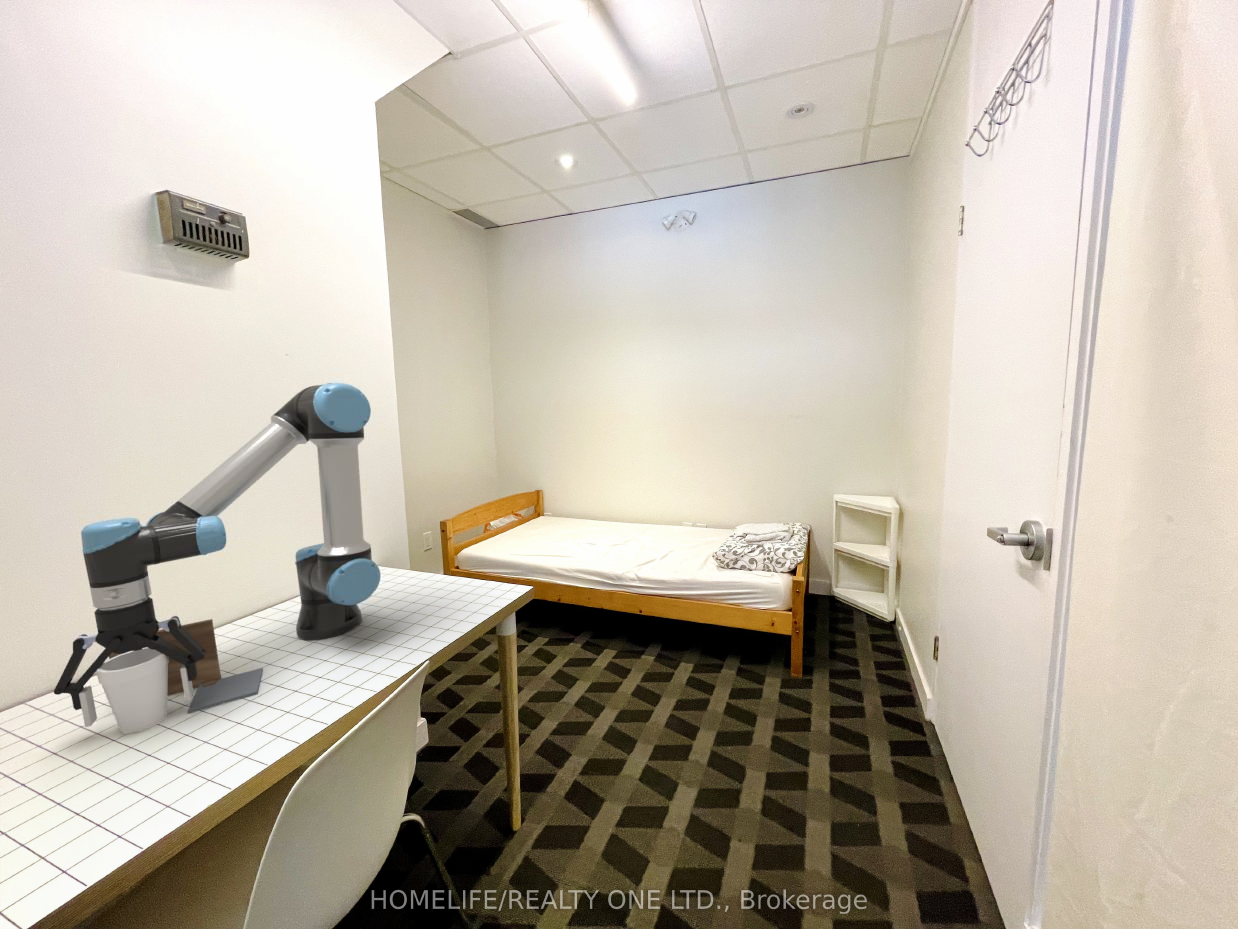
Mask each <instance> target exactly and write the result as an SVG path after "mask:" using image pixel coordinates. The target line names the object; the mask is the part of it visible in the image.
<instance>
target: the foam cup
mask: <svg viewBox="0 0 1238 929" xmlns="http://www.w3.org/2000/svg"><path fill="white" fill-rule="evenodd" d="M168 663H169V657H168V656H166V655H164V654H162V653H160V652H158V651H156V650H152V649H150V648H148V647H146V648H142V650H137V651H130V652H127V653H124V654H120V655H118V656H116V657H113V658H111V659H109V658H108V659H106V660H105V661H104V663H103V664H102V665H101V666H100V667H99V668H98V669H97V671H96V674H97V679H98V680H97V681H98V683H99V684H101V687H102V689H103V692H104V694H105V697H106V699H107V701H108V704H109V706H110V709H111V711H112V714H113V716H114V718H115V721H116V724H117V725H118V728H119V730H120V733H122V734H125V735H126V734H127V735H128V734H135V733H138V732H142V731H145V730H149V729H151V728H152V727H155V726H156V725H158V724H160V723H162V721H163V722H164V720H165V719H167V717H168V714H167V713H168V696H167V690H168Z"/></svg>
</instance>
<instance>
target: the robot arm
mask: <svg viewBox="0 0 1238 929" xmlns="http://www.w3.org/2000/svg"><path fill="white" fill-rule="evenodd" d="M371 413H372V412H371V404H370V401H369V400H368V398H367V396H366V395H365V394H364V392H362V391H361V390H360V389H359V388H358V387H355V386H353V385H352V384H348V383H344V382H343V383H342V382H329V383H325V384H320V385H319V384H317V385H311V386H308V387H305V388H303V389H301V390H300V391H299V392H297V393H296V394H295V395H294V396H293V397H292V398H291V399H290V400H288V401H287V402H286V403H285V404H284V405H283V406H281V408H279V409H278V410H277V411H276V412H275V413H274V414H272V415H271V416H270V423H268V424H267V426H266V427H264V428H263V429H262V430H261V431H259V432H258V433H257V434H256V435H255V436H254V437H252V438H251V439H250V440H249V441H247V442H246V443H245V444H244V445H243V446H241V447H240V448H239V449H238V450H237V451H235V452H234V453H233V454H232V455H230V457H228V458H227V459H226V460H224V462H222V463H221V464H220V465H219V466H217V467H216V468H215V469H214V470H213V471H212V472H210V473H209V474H208V475H207V476H205V478H203V479H202V480H200V482H198V483H197V484H196V485H195V486H193V487H192V488H191V489H190V490H189V491H188V492H186V493H185V494H184V495H182V496H181V497H180V498H179V499H178V500H177V501H176V502H174V503H173V504H172V505H171V506H169V507H168V508H167V509H166V510H165V511H164V510H163V511H162V512H159V513H155V515H153V516H151V517H150V518H149V519H148V520H147V522H146V524H145V525H144V526H142V524H141V522H140V520H139V519H138V518H135V517H123V518H122V517H121V518H113V519H108V520H101V521H96V522H92V523H89V524H87V525H85V526H84V527H83V528H82V530H81V532H80V534H81V543H82V555H83V558H84V564H85V568H86V575H87V580H88V583H89V590H90V595H91V600H92V601H91V602H92V607H94V608H95V611H94V618H95V624H96V628H97V634H93V635H87V633H86V634H85V633H84V634H80V635H79V636H78V637H77V638H76V639H74V641H73V642H72V653H71V655H70V658H69V659H68V661H67V663H66V666H65V668H64V670H63V672H62V673H61V675H60V678H59V680H58V682H57V683H56V686H55V688H54V690H53V694H54V695H61V694H69V695H70V696H71V701H72V707H73V710H75V711H79V710H81V712H82V718H83V723H84V727H85V728H89V727H92V726H93V724H94V723H95V721H96V720H97V718H98V715H97V710H96V705H95V700H94V694H93V689H92V685H86V684H87V683H88V681H89V680H90V679H91V678H92V677H93V676H94V675H95V673H97V669H98V668H99V667H100V666H101V665H102V664H103V663H104V662H105V661H107V660H108V659H109V656H110V654H111V653H112V652H113V653H116V654H124V653H127V652H129V651H137V650H142V648H144V647H148V648H150V649H152V650H156V651H158V652H160V653H162V654H164V655H166V656H168V657H170V658H172V659H174V660H175V661H177V662H179V663H181V664H183V665H182V667H181V669H180V671H181V677H182V683H183V689H184V691H183V696H184V701H188V700H191V699H192V696H193V694H194V689H193V687H192V680H195V679H196V676H197V668H196V662H197V661H199V660H202V659H204V657H205V655H206V653H207V651H206V650H205V649H204V648H203V647H202V646H201V645H200V644H199V643H198V642H197V641H196V640H195V639H194V638H193V637H192V636H191V635H190V634H189V633H188V632H187V631H186V630H185V629H184V628H183V627H182V626H181V625H182V623H181V621H180V617H179V616H177V615H174V616H172V617H171V618H169V619H166V620H165V619H164V620H162V621H159V620H158V619H157V618H156V612H155V607H154V606H155V605H154V600H153V598H152V597H151V595H152V588H151V582H150V578H149V572H148V567H149V566H154V565H155V566H156V565H159V564H163V563H168V562H169V563H170V562H173V561H179V560H184V559H189V558H192V557H199V556H206V555H209V554H212V553H215V552H219V551H222V550H223V549H225V547H226V544H227V532H226V528H225V524H224V522H223V520H222V518H220V517H219V515H220V514H222V513H223V512H224V511H225V510H226V509H228V508H229V506H231V505H232V504H233V503H234V502H235V501H236V500H238V498H240V497H241V496H242V495H243V494H244V493H245V492H246V491H248V490H249V489H250V488H251V487H252V486H253V485H254V484H255V483H257V482H258V481H259V480H260V479H261V478H262V477H263V476H264V475H265V474H267V473H268V472H269V471H270V470H271V469H272V468H273V467H274V466H276V465H277V464H278V463H279V462H281V460H282V459H283V458H285V457H286V455H287V456H288V454H290V452H292V451H293V450H294V449H295V448H296V447H297V446H298V445H305V444H307V443H308V442H309V441H310V442H311V443H312V444H313V445H315V446H316V448H317V460H318V461H317V463H318V476H319V490H320V491H319V492H320V504H321V518H322V522H321V523H322V532H323V533H322V534H323V543H318V544H314V545H309V546H306V547H305V546H304V547H302V548H300V549H298V550H297V551H296V553H295V562H294V564H295V566H296V573H297V581H298V589H299V595H300V596H299V597H300V603H301V605H300V609H299V614H298V618H297V622H296V626H295V629H296V636H297V637H298V639H300V640H306V641H311V640H312V641H313V640H314V641H316V640H325V639H328V638H331V637H332V638H333V637H336V636H340V635H342V634H344V633H347V632H349V631H351V630H353V629H355V628H357V627H358V626H359V625H360V624H361V622H362V621H363V620H362V611H361V610H360V607H359V606H358V605H359V604H361V603H363V602H365V601H366V600H368V599H369V598H371V597H372V595H373V594H374V593H375V591H376V590H377V589H378V586H379V585H380V582H381V571H380V570H381V569H380V567H379V566H378V565H377V563H376V562H375V561H373V557H372V556H373V555H372V546H371V545H372V544H370V543H369V542H368V541H366V540H365V539H364V525H363V511H362V510H363V507H362V494H361V493H362V492H361V491H362V490H361V478H360V477H361V475H360V461H359V460H360V458H359V445H360V444H361V443H362V442H363V440H365V429H364V427H365V426H366V425H367V424H368V422H369V421H370V417H371ZM162 629H164V630H165V631H170V633H171V634H172V636H173V637H174V638H175V639H176V640H177V641H178V642H180V643H181V644H182V645H183V646H184V647H185V648H186V649H187V650H188V651H189V652H190V653H191V654H190V653H188V652H187V651H185V650H183V649H181V648H179V647H177V646H175V645H174V644H172V643H170V642H168V641H166V640H164V639H163V637H161V636H159V635H158V634H156V633H157V632H158V630H162ZM94 643H96V644H98V645H100V646H101V647H103V648H104V650H102V651H101V653H100V654H99V655H98V656H97V658H95V660H94V661H93V663H91V665H90V666H89V667H88V668H87V669H86V671H84V673H83V674H82V675H81V676H80V678H78V680H77V681H76V682H72V681H73V679H74V676H75V675H76V673H77V671H78V668H79V666H80V665H81V663H82V661H83V658H84V657H85V655H86V652H87V651H88V649H89V648H90V647H92V646H93V645H94ZM85 685H86V686H85Z"/></svg>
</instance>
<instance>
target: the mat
mask: <svg viewBox="0 0 1238 929" xmlns="http://www.w3.org/2000/svg"><path fill="white" fill-rule="evenodd" d="M263 671H264V670H263V667H261V668H256V669H253V670H248V671H245V672H240V673H238V674H233V675H230V676H226V677H221V679H218V680H217V681H216V684H213V685H210V686H206V687H203V684H204V683H203V684H199V686H198V688H196V690H195V692H194V695H193V697H192V698H191V699H192V700H191V702H190V704H189V706H188V708H187V710H186V711H187V714H191V713H196V712H198V711H203V710H206V709H209V708H212V707H217V706H219V705H223V704H227V703H230V702H233V701H237V700H241V699H245V698H248V697H250V696H251V697H252V696H255V695H258V694H259V691H260V684H261V680H262V675H263Z"/></svg>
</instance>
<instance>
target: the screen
mask: <svg viewBox="0 0 1238 929" xmlns="http://www.w3.org/2000/svg"><path fill="white" fill-rule="evenodd" d="M213 621H214V620H213V618H211V619H206V620H202V621H198V622H192V623H187V624H181V626H182V627H183V628H184V629H185V630H186V631H187V632H188V633H189V634H190V635H191V636H192V637H193V638H194V639H195V640H196V641H197V642H198V643H199V644H200V645H201V646H202V647H203V648H204V649H205V650H206V651H207V653H206V655H205V657H204V659H202V660H199V661H197V662H196V668H197V676H196V679H195V680H192V687H193V690H194V689H197V688H198V686H199V684H203V683H204V684H203V687H206V686H210V685H213V684H216V681H217V680H218V679H221V678H222V676H221V668H220V662H219V661H220V660H219V655H218V654H219V653H218V648H217V642H216V636H215V627H214V622H213ZM156 634H158V635H159V636H161V637H163V639H164V640H166V641H168V642H170V643H172V644H174V645H175V646H177V647H179V648H181V649H183V650H185V651H187V652H188V653H190V652H189V651H188V650H187V649H186V648H185V647H184V646H183V645H182V644H181V643H180V642H178V641H177V640H176V639H175V638H174V637H173V636H172V634H171V633H170V631H165V630H164V629H162V628H161V629H159V630H158V632H157V633H156ZM144 648H146V647H144ZM129 652H130V651H129ZM190 654H191V653H190ZM118 655H120V654H116V653H113V652H112V653H111V654H110V656H109V657H108V660H109V659H111V658H113V657H116V656H118ZM182 665H183V664H181V663H179V662H177V661H175V660H174V659H172V658H170V657H169V663H168V690H167V697H168V696H172V695H175V694H179V693H182V692H183V693H184V689H183V683H182V677H181V671H180V669H181V667H182Z"/></svg>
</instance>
